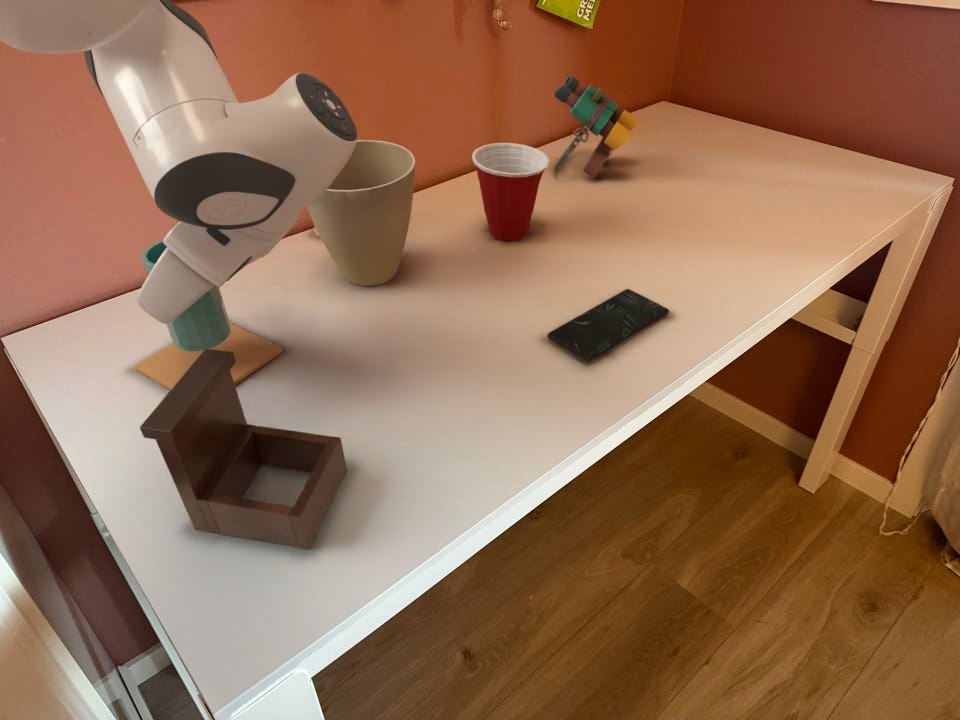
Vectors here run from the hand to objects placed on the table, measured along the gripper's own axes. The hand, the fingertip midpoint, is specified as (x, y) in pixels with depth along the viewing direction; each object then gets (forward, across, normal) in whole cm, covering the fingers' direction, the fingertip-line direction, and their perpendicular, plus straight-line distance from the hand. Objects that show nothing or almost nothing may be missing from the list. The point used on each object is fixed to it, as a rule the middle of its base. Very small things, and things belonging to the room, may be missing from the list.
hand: (180, 287), depth 78 cm
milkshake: (+5, -32, +9) cm, 33 cm away
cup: (+4, 0, +5) cm, 6 cm away
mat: (+7, 0, +8) cm, 10 cm away
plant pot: (-2, -22, +17) cm, 28 cm away
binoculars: (-21, -60, +36) cm, 73 cm away
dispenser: (-5, +18, +19) cm, 27 cm away
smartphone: (-25, -15, +40) cm, 50 cm away
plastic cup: (-14, -36, +29) cm, 48 cm away
